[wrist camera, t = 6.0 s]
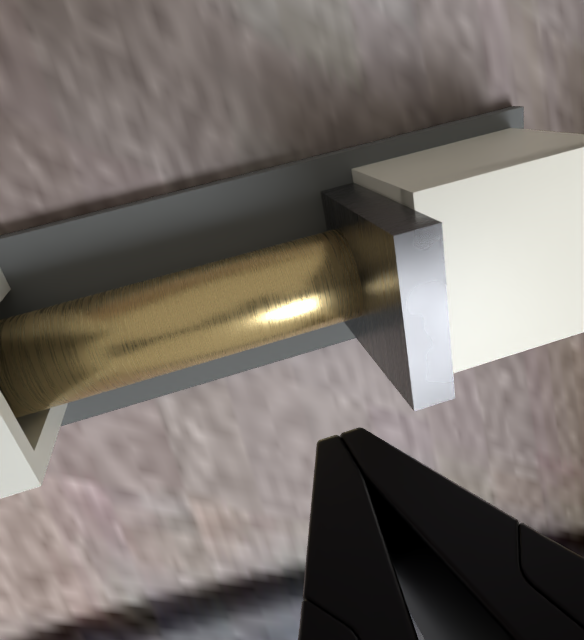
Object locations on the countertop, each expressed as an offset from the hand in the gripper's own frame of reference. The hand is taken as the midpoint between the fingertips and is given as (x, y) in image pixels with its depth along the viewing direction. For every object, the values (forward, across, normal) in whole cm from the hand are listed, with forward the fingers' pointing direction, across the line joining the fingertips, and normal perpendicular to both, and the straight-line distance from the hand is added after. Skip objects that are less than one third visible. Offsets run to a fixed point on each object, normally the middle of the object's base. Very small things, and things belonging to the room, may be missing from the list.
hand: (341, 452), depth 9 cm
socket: (+10, -7, 0) cm, 12 cm away
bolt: (+10, 0, 0) cm, 10 cm away
